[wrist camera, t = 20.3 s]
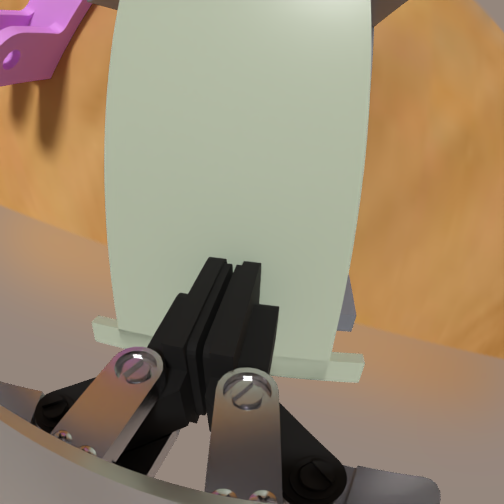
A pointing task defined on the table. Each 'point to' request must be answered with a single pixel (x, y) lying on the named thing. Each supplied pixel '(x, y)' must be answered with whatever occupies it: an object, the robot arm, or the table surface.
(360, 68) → the lid
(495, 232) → the table surface
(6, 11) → the bracket
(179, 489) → the robot arm
